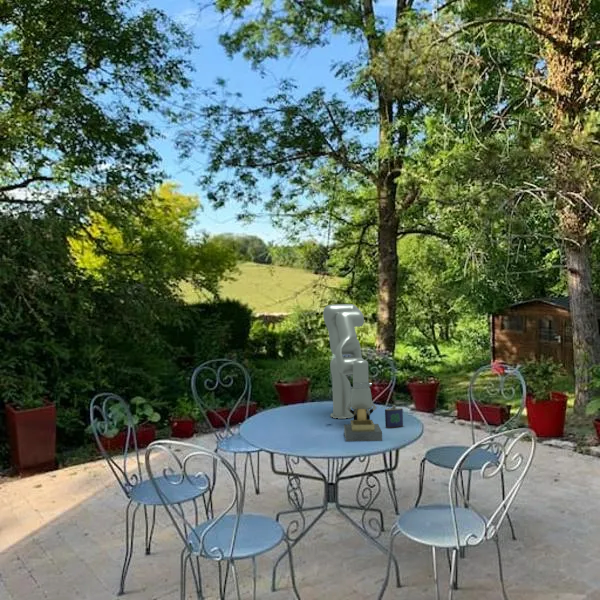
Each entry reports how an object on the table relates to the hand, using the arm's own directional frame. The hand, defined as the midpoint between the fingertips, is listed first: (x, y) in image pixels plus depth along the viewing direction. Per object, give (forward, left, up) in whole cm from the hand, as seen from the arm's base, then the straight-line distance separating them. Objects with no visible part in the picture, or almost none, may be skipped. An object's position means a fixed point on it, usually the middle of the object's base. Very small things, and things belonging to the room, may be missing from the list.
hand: (361, 422), depth 257 cm
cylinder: (0, 0, -3) cm, 3 cm away
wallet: (-2, +16, -3) cm, 16 cm away
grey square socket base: (+14, -1, -3) cm, 14 cm away
